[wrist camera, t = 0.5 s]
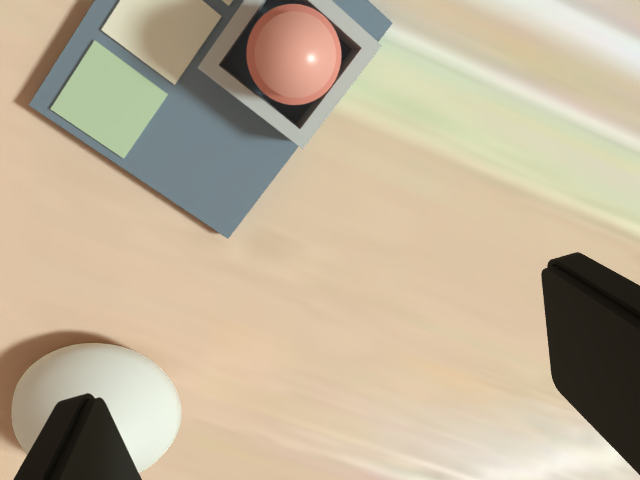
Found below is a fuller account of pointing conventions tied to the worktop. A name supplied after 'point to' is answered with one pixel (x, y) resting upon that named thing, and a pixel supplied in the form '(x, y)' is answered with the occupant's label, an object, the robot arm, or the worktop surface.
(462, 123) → the worktop surface
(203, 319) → the worktop surface
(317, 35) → the dome
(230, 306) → the worktop surface
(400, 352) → the worktop surface
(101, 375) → the flower in vase
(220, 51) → the game board
